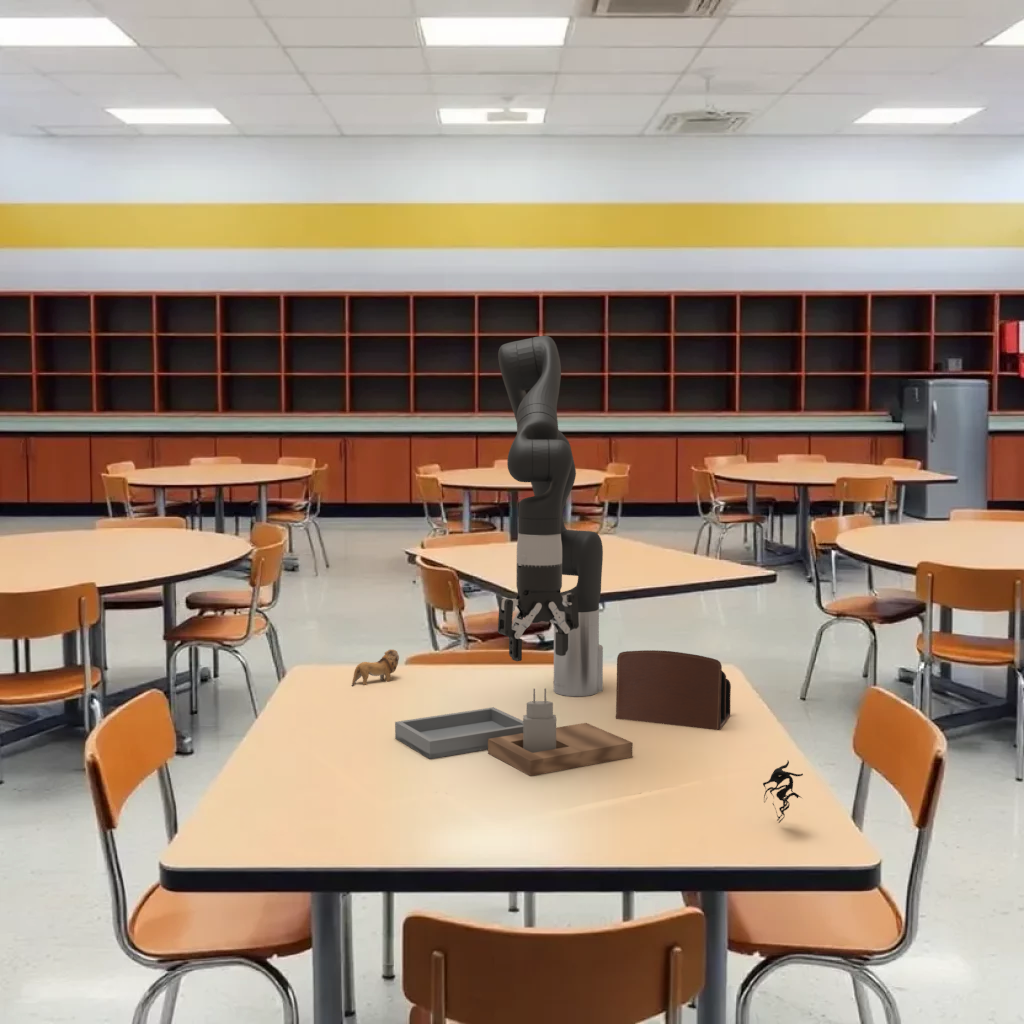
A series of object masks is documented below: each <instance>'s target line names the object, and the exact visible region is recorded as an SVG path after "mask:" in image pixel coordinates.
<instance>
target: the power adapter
mask: <svg viewBox="0 0 1024 1024" xmlns="http://www.w3.org/2000/svg"><path fill="white" fill-rule="evenodd" d="M532 695H533V698H532V700H531V701H526V714H523V716H522V721H523V749H525V750H527V751H529V752H531V753H535V752H541V751H546V750H552V749H556V728H557V716H556V715H555V714H554V703H553V701H549V700H547V688H544V697H543V698H544V699H543V700H536V688H533V694H532Z"/></svg>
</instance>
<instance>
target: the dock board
mask: <svg viewBox="0 0 1024 1024" xmlns="http://www.w3.org/2000/svg"><path fill="white" fill-rule="evenodd" d="M487 754H488V755H491V756H492V757H494V758H496V759H498V760H500V761H502V762H504V763H505V764H507V765H509V766H511V767H513V768H515V769H517V770H518V771H519V772H522V773H524V774H526V775H528V776H529V777H533V776H538V775H543V774H549V773H555V772H559V771H565V770H570V769H575V768H580V767H581V768H582V767H586V766H593V765H597V764H603V763H607V762H608V763H609V762H613V761H617V760H624V759H628V758H629V759H630V758H633V741H630V740H628V739H626V738H623V737H621V736H618V735H616V734H613V733H611V732H609V731H607V730H605V729H602V728H599V727H597V726H594V725H592V724H590V723H587V722H582V723H576V724H571V725H565V726H558V727H557V726H556V749H552V750H546V751H541V752H535V753H531V752H529V751H527V750H525V749H523V733H521V734H515V735H509V736H503V737H496V738H490V739H488V749H487Z"/></svg>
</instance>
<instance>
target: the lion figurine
mask: <svg viewBox="0 0 1024 1024" xmlns="http://www.w3.org/2000/svg"><path fill="white" fill-rule="evenodd" d="M399 659H400V655H399V654H398V651H397V650H395V649H388V650H386V651H385V652H384V655H383V656H382V657H381V658H380V659H379V660H378V661H373V662H370V661H362V662H360V663H358V664H357V666H356V667H355V669H354V672H353V676H352V677H353V678H352V683H351V686H352V687H354V686H355V685H356V682H357V681H358V680H359V679H360V678H361V677H362V684H363V686H368V679H369V677H370V676H373V677H378V676H379V679H380V681H384V679H385V682H386V681H387V682H390V681H391V674H394V672H396V670H397V667H398V664H399Z"/></svg>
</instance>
